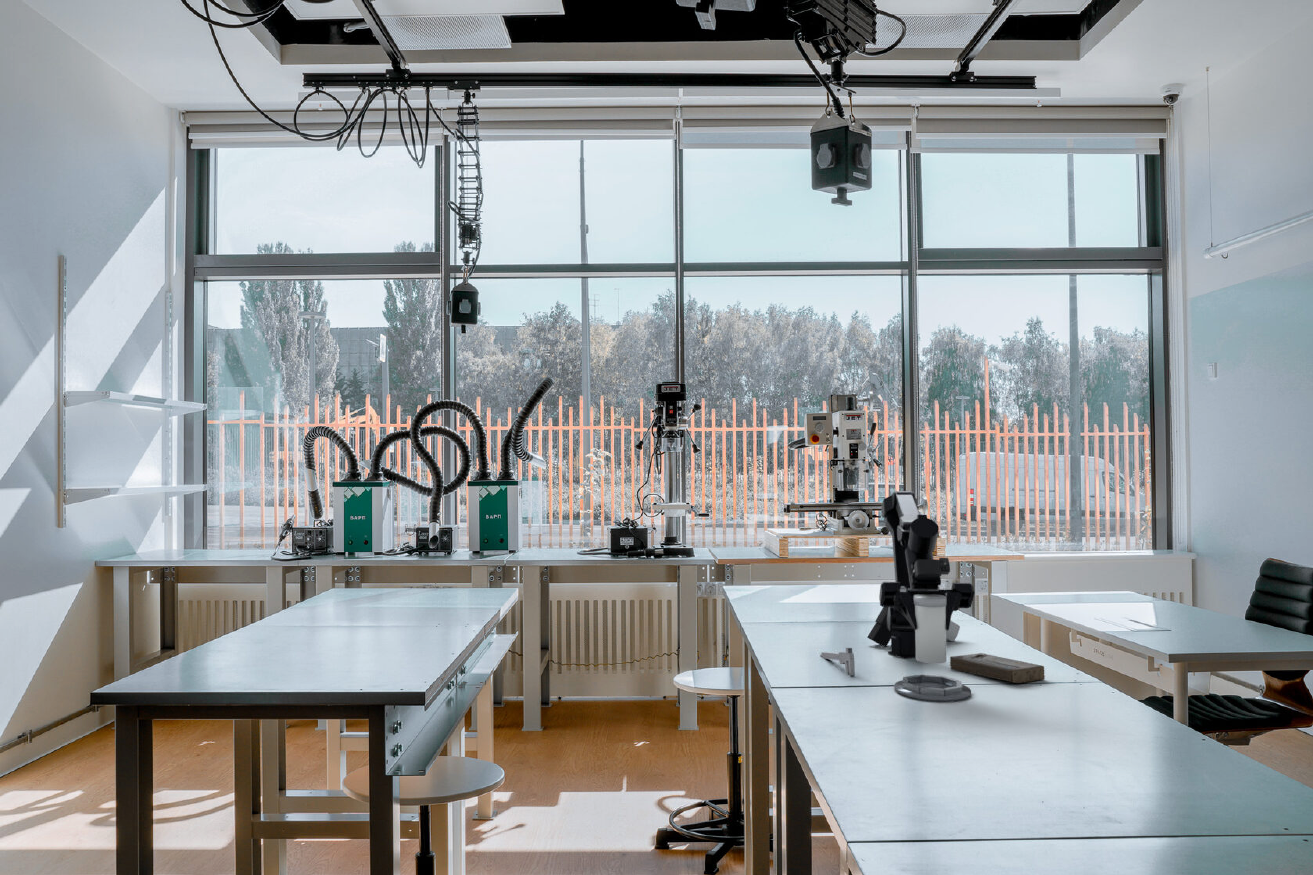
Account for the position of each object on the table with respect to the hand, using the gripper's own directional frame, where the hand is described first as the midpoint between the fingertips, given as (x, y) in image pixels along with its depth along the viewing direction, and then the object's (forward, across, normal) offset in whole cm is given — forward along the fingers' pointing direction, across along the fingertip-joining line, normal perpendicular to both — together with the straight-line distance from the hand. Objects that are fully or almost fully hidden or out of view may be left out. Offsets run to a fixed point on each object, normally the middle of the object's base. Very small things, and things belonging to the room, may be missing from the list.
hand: (931, 629), depth 169 cm
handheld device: (-25, +4, +44) cm, 51 cm away
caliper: (-6, -18, +25) cm, 31 cm away
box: (-3, +17, +22) cm, 28 cm away
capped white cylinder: (+4, 0, +6) cm, 7 cm away
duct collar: (+8, 0, +10) cm, 13 cm away
